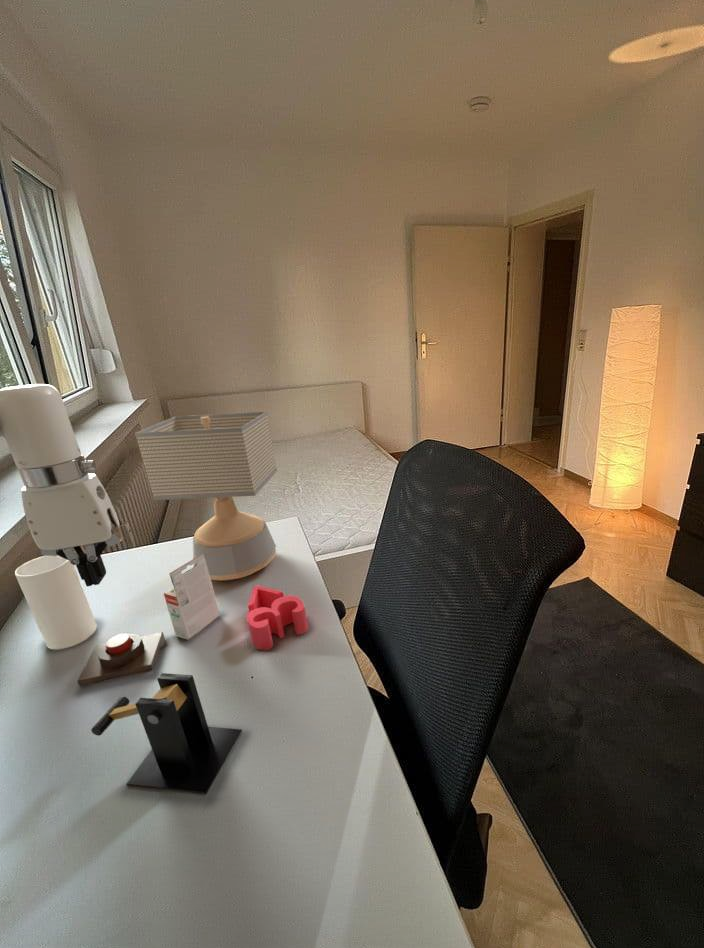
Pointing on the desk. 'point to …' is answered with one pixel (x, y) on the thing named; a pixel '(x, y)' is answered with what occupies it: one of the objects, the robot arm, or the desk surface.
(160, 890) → the desk surface
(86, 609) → the cup
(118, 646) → the red button
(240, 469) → the desk lamp
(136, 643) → the button block
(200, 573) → the ink box
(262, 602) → the letters
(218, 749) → the switch bracket
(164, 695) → the switch lever
